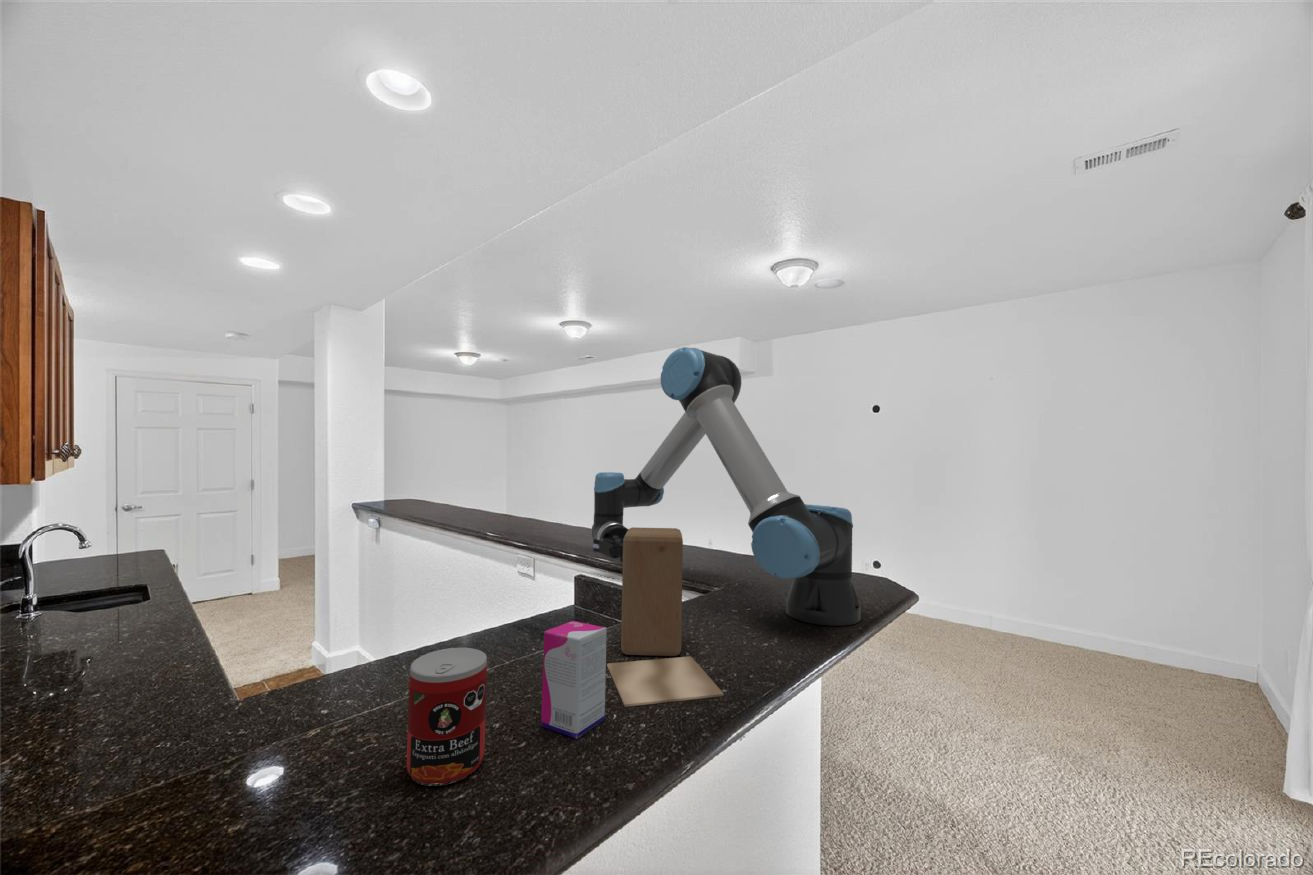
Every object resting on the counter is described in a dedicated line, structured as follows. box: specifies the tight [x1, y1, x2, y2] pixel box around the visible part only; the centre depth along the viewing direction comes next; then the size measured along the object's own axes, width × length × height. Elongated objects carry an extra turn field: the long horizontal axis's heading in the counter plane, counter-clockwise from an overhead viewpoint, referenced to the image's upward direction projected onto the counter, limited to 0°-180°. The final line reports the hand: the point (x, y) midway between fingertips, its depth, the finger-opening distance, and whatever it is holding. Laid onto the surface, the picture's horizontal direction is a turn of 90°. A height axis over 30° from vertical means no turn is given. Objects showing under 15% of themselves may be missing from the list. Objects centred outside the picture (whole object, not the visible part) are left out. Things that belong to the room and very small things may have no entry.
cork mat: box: [606, 656, 725, 708], centre depth 78 cm, size 14×14×1 cm
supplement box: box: [540, 620, 608, 740], centre depth 65 cm, size 6×6×12 cm
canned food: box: [406, 647, 488, 783], centre depth 56 cm, size 8×8×11 cm
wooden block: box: [620, 526, 684, 657], centre depth 92 cm, size 10×10×20 cm
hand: (636, 558), depth 103 cm, fingers closed
